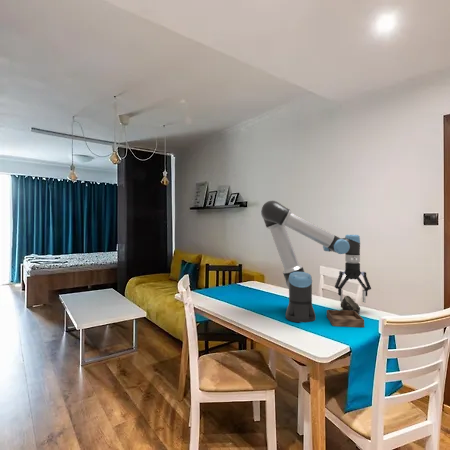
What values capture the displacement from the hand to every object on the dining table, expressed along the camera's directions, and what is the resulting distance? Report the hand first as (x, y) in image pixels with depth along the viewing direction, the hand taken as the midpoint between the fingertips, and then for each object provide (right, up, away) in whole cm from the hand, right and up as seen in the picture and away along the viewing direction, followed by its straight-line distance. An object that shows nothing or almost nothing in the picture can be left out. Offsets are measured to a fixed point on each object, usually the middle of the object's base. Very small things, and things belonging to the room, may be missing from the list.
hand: (352, 301), depth 164 cm
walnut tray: (-11, -6, -17) cm, 21 cm away
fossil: (+1, -7, 0) cm, 7 cm away
